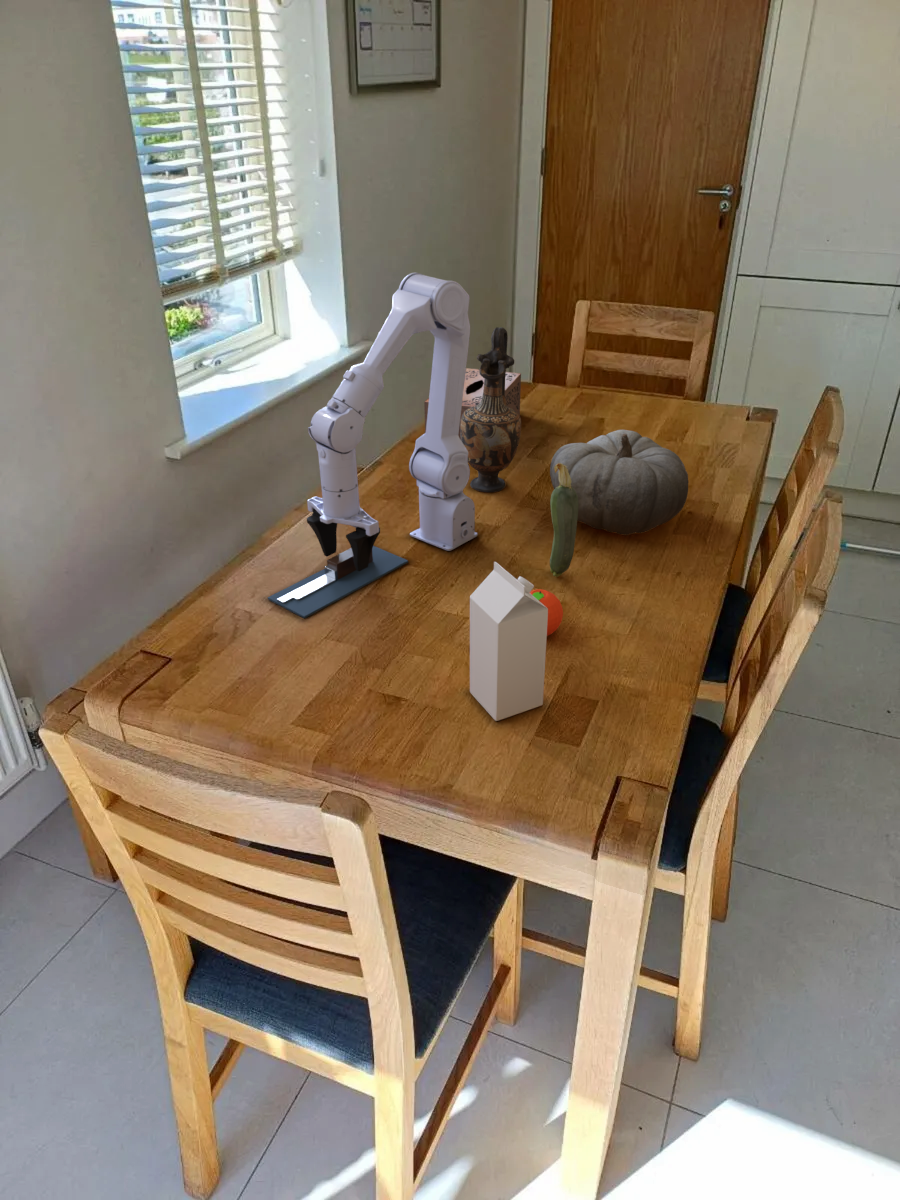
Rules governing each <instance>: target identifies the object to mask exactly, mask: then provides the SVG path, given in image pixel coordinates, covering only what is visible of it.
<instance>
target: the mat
mask: <svg viewBox="0 0 900 1200" xmlns="http://www.w3.org/2000/svg"><path fill="white" fill-rule="evenodd" d="M372 554H373V562H371V563H369V564H368V567H367V568H365V569H363V570H361V571H357V570H355V571H353V572H352V573H350V574H348V575H346V576H344V577H342V578H340V579H338V580H337V581H335V582H333V583H331V584H329V585H328V586H326V587H324V588H322V589H320V590H318V591H316V592H314V593H312V594H310V595H308V596H306V597H305V598H303V599H301V600H299V601H297V600H295V599H292V600H290V601H288V602H287V603H285V604H283V603H281V602H279V601H277V599H278V598H280V597H282V596H284V595H286V594H288V593H290V592H292V591H294V590H296V589H298V588H300V587H302V586H304V585H306V584H307V583H309V582H311V581H313V580H315V579H317V578H319V577H321V576H323V575H325V568H323V569H321V570H319V571H317V572H314V573H313V574H311V575H310V576H307V577H305V578H303V579H301V580H299V581H297V582H296V583H293V584H291V585H289V586H288V587H286V588H284V589H281V590H279V591H278V592H275V593H273V594H271V595H270V596H268V597H267V600H268V601H270V602H272V603H274V604H276V605H278V606H279V607H281V608H283V609H285V610H287V611H289V612H291V613H293V614H295V615H296V616H299V617H301V618H303V619H306V618H308V617H310V616H313V615H314V614H316V613H317V612H319V611H321V610H324V609H325V608H327V607H328V606H331V605H332V604H334V603H336V602H338V601H340V600H341V599H343V598H345V597H347V596H349V595H351V594H352V593H354V592H356V591H358V590H360V589H362V588H364V587H366V586H367V585H369V584H371V583H373V582H374V581H376V580H378V579H380V578H382V577H384V576H386V575H388V574H389V573H391V572H394V571H395V570H397V569H399V568H401V567H403V566H404V565H407V564H408V563H409V560H408V559H406V558H403V557H402V556H399V555H397V554H394V553H391V552H389V551H387V550H385V549H382V548H380V547H377V546H375V545H373V548H372Z"/></svg>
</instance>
